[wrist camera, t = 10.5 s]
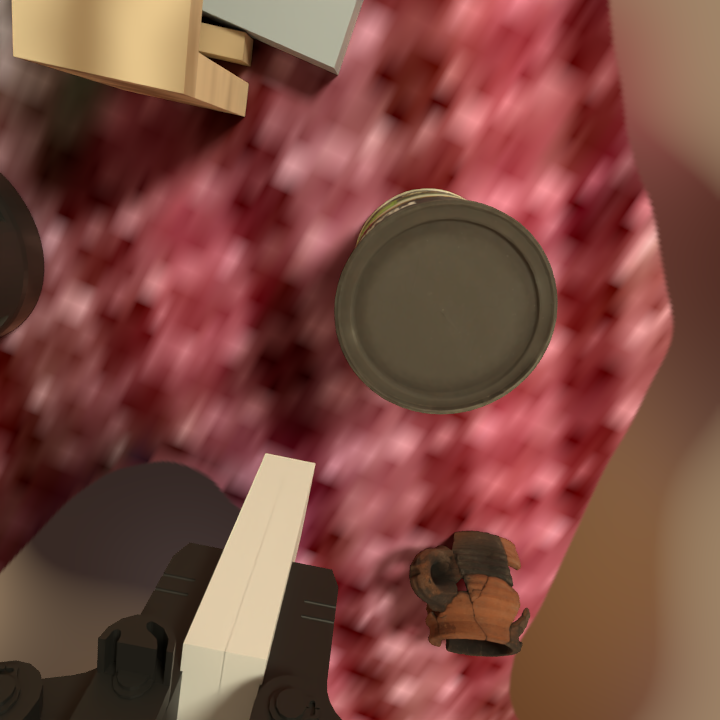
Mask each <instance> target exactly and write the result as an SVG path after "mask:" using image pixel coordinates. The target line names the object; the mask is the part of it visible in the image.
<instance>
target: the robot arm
mask: <svg viewBox="0 0 720 720" xmlns="http://www.w3.org/2000/svg"><path fill="white" fill-rule="evenodd" d="M43 277H44V257H43V250H42V244H41V240H40V237H39V233H38V230H37V227H36V225H35V222H34V220H33V218H32V216H31V214H30V212H29V210H28V208H27V206H26V205H25V203H24V201H23V200H22V198H21V197H20V195H19V194H18V193H17V191H16V190H15V188H14V187H13V186H12V185H11V184H10V182H9V181H8V180H7V179H6V178H5V177H4V176H3V175H2V174H1V173H0V337H1V336H3V335H5V334H7V333H9V332H11V331H12V330H14V329H15V328H17V327H18V326H19V325H20V324H21V323H22V322H24V320H25V319H26V318H27V317H28V316H29V314H30V313H31V312H32V310H33V308H34V307H35V305H36V303H37V301H38V298H39V295H40V292H41V289H42V284H43ZM314 468H315V463H311V462H306V461H301V460H296V459H292V458H287V457H282V456H277V455H272V454H267V453H266V454H265V456H264V458H263V461H262V463H261V465H260V468H259V470H258V472H257V474H256V477H255V479H254V481H253V484H252V486H251V488H250V491H249V493H248V495H247V498H246V500H245V502H244V504H243V507H242V509H241V511H240V514H239V516H238V519H237V521H236V523H235V525H234V528H233V530H232V532H231V534H230V537H229V539H228V541H227V544H226V546H225V548H224V549H219V548H214V547H209V546H204V545H199V544H194V543H189V544H188V545H187V546H185V547H184V548H183V549H181V550H180V551H179V552H178V553H176V554H175V555H174V556H173V557H172V559H171V561H170V563H169V564H168V566H167V568H166V570H165V572H164V574H163V576H162V577H161V579H160V581H159V583H158V584H157V586H156V589H155V591H153V593H152V595H151V597H150V599H149V600H148V602H147V604H146V606H145V608H144V610H143V611H142V613H141V615H134V616H130V617H127V618H123V619H121V620H119V621H117V622H116V623H114V624H112V625H111V626H109V627H108V628H107V629H106V630H105V631H104V632H103V634H102V635H101V636H100V637H99V638H98V660H97V668H96V669H93V670H91V671H88V672H86V673H81V674H76V675H72V676H64V677H54V678H45V679H41V675H40V672H39V671H38V670H37V669H36V668H35V667H33V666H32V665H31V664H29V663H24V662H20V661H8V662H0V720H342V719H341V718H340V717H339V716H338V715H337V714H336V712H335V711H334V709H333V707H332V705H331V703H330V701H329V697H328V693H327V678H328V669H329V661H330V653H331V644H332V636H333V628H334V619H335V611H336V602H337V594H338V585H337V582H336V580H335V577H334V574H333V571H332V570H330V569H325V568H320V567H316V566H311V565H306V564H301V563H296V562H295V559H296V555H297V550H298V546H299V542H300V538H301V533H302V528H303V523H304V518H305V513H306V508H307V503H308V498H309V493H310V488H311V483H312V478H313V473H314Z"/></svg>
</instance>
